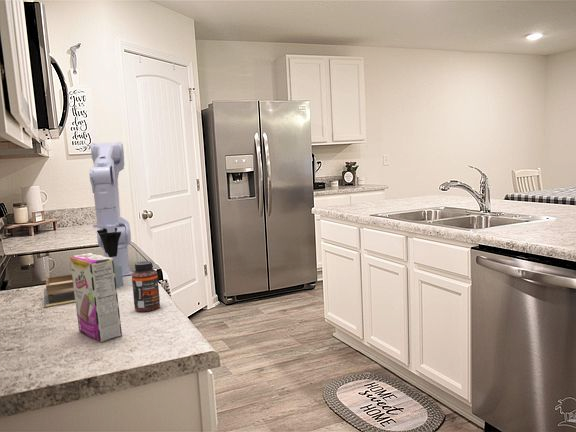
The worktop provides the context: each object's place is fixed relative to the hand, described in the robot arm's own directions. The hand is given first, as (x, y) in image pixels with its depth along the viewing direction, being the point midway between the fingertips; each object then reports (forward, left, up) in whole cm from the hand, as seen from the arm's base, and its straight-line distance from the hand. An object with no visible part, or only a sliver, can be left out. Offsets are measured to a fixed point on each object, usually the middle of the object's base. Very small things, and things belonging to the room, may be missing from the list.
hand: (111, 254), depth 140 cm
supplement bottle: (+30, +4, -10) cm, 32 cm away
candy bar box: (+42, -8, -10) cm, 44 cm away
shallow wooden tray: (+5, -12, -9) cm, 16 cm away
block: (0, 0, -9) cm, 9 cm away
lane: (+1, -12, -9) cm, 15 cm away
